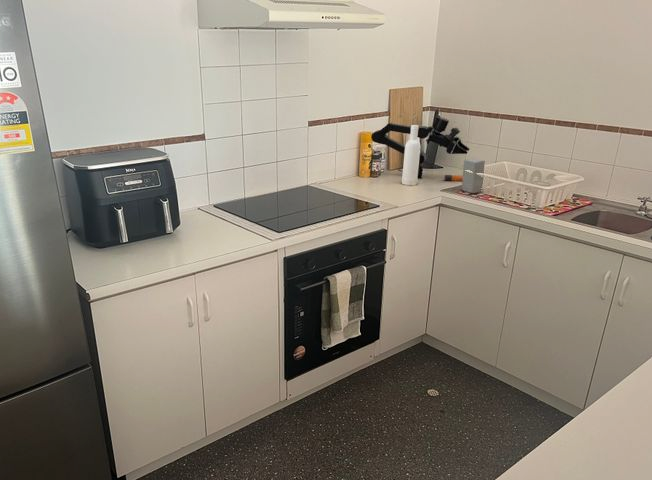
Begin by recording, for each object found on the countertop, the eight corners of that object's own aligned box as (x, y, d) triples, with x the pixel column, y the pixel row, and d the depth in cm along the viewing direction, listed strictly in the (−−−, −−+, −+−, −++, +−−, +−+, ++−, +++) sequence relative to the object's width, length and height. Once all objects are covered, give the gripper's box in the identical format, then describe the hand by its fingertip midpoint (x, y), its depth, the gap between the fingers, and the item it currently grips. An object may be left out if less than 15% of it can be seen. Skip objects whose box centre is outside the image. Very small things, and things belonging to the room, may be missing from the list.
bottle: (418, 185, 287) (424, 126, 275) (403, 185, 287) (408, 126, 275) (415, 181, 295) (421, 124, 283) (400, 181, 295) (405, 124, 283)
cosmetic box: (482, 192, 275) (487, 160, 269) (471, 194, 272) (475, 162, 266) (470, 188, 282) (474, 157, 276) (459, 189, 279) (463, 158, 273)
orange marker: (445, 181, 296) (446, 175, 295) (444, 179, 299) (444, 174, 297) (472, 181, 296) (473, 176, 295) (470, 179, 299) (471, 174, 297)
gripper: (444, 127, 280) (473, 139, 277) (449, 122, 296) (477, 134, 293) (435, 147, 286) (463, 160, 283) (440, 142, 302) (467, 153, 298)
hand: (468, 151), depth 289 cm, fingers open, 9 cm apart
